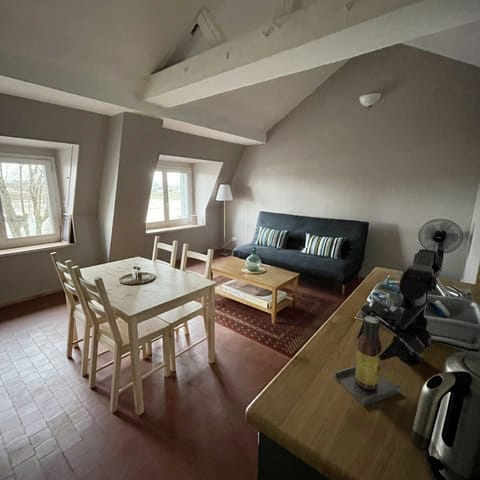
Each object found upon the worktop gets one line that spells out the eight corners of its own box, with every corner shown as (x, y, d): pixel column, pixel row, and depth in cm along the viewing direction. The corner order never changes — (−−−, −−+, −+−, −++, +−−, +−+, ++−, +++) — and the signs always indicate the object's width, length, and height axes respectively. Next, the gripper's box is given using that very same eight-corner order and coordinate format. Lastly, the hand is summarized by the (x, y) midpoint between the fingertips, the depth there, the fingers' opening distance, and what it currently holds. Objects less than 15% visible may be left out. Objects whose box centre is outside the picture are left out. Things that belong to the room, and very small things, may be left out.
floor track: (367, 366, 84) (367, 361, 84) (400, 392, 73) (400, 387, 73) (333, 376, 80) (334, 371, 79) (363, 406, 69) (364, 400, 69)
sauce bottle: (381, 392, 73) (389, 327, 69) (356, 389, 74) (363, 325, 70) (374, 376, 79) (381, 315, 75) (352, 373, 80) (358, 313, 76)
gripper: (368, 279, 81) (333, 316, 81) (421, 306, 63) (376, 354, 63) (387, 301, 84) (354, 336, 84) (443, 332, 66) (400, 377, 66)
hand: (368, 348), depth 74 cm, fingers open, 9 cm apart
